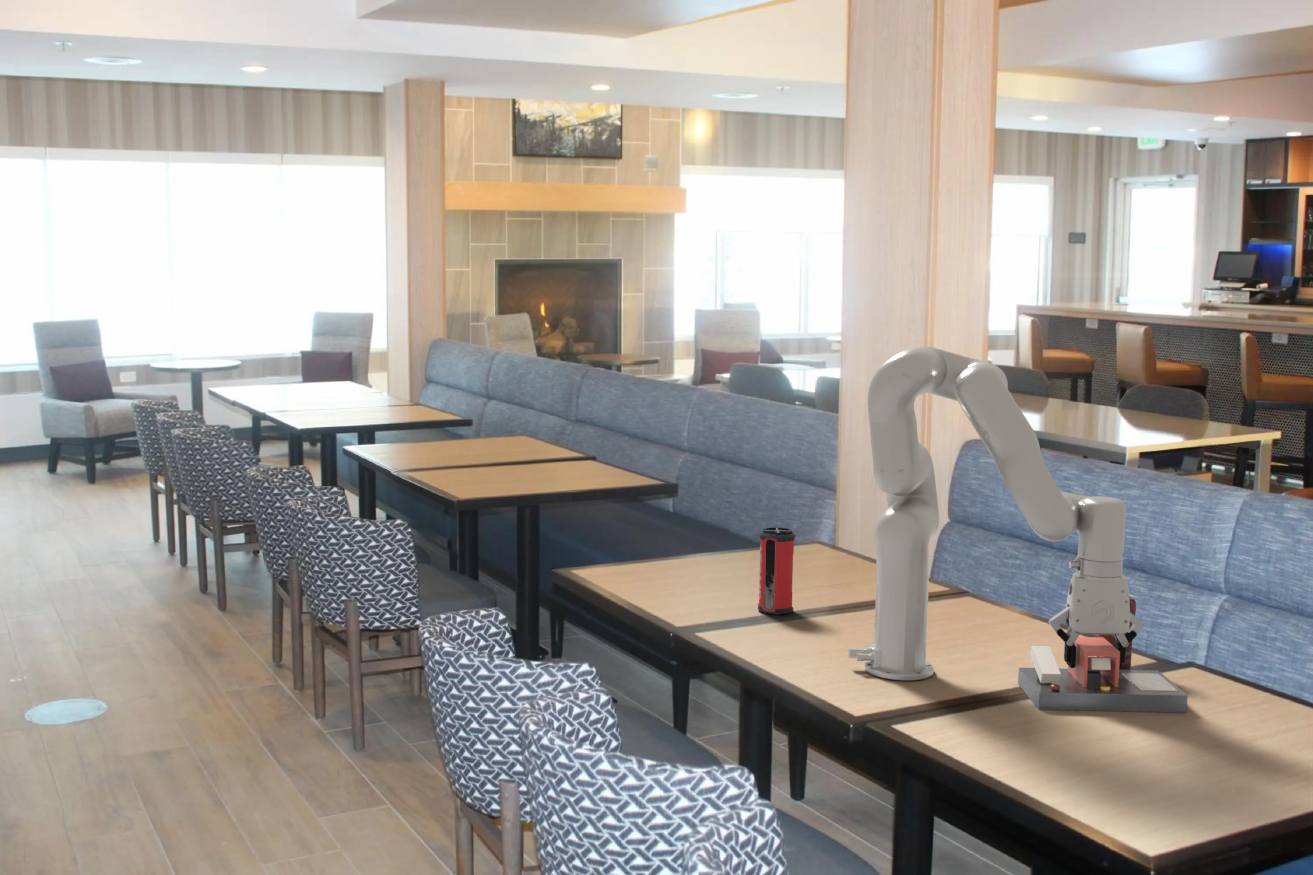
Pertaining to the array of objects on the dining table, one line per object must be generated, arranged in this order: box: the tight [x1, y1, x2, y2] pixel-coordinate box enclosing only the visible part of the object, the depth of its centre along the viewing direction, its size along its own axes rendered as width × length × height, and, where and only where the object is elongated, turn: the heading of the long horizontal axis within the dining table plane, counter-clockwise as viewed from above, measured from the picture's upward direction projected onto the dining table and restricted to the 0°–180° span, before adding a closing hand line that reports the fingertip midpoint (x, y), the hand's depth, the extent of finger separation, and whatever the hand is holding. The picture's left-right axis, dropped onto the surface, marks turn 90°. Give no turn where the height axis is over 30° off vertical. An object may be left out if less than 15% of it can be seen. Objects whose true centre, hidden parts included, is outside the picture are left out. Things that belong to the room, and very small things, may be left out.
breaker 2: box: [1087, 656, 1111, 672], centre depth 228 cm, size 3×8×2 cm, turn 179°
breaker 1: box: [1029, 645, 1061, 683], centre depth 228 cm, size 3×8×2 cm, turn 179°
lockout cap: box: [1067, 636, 1120, 687], centre depth 228 cm, size 6×9×6 cm, turn 179°
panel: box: [1017, 667, 1189, 714], centre depth 228 cm, size 25×14×4 cm, turn 89°
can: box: [1096, 596, 1137, 670], centre depth 244 cm, size 6×6×14 cm
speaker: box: [757, 527, 796, 616], centre depth 282 cm, size 8×8×18 cm
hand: (1093, 665), depth 228 cm, fingers open, 7 cm apart
